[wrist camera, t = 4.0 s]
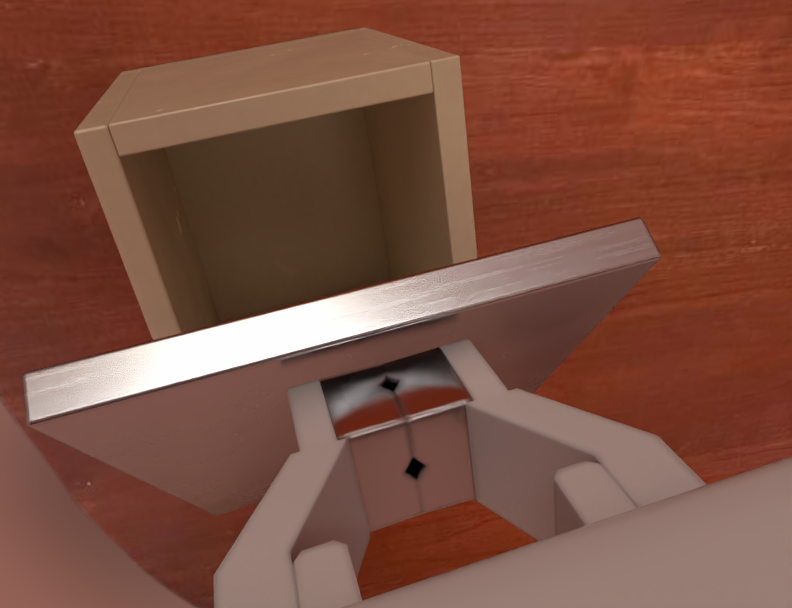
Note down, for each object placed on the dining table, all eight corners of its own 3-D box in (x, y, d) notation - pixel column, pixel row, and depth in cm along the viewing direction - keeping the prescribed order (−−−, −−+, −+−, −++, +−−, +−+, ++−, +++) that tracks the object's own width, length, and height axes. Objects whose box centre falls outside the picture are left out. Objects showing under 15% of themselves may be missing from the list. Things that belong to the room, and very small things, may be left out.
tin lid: (18, 371, 9) (24, 427, 9) (642, 214, 10) (664, 257, 10) (208, 490, 20) (213, 516, 20) (492, 407, 22) (500, 429, 22)
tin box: (119, 72, 24) (71, 131, 15) (365, 26, 26) (460, 55, 17) (207, 332, 30) (210, 493, 21) (404, 282, 31) (491, 410, 22)
